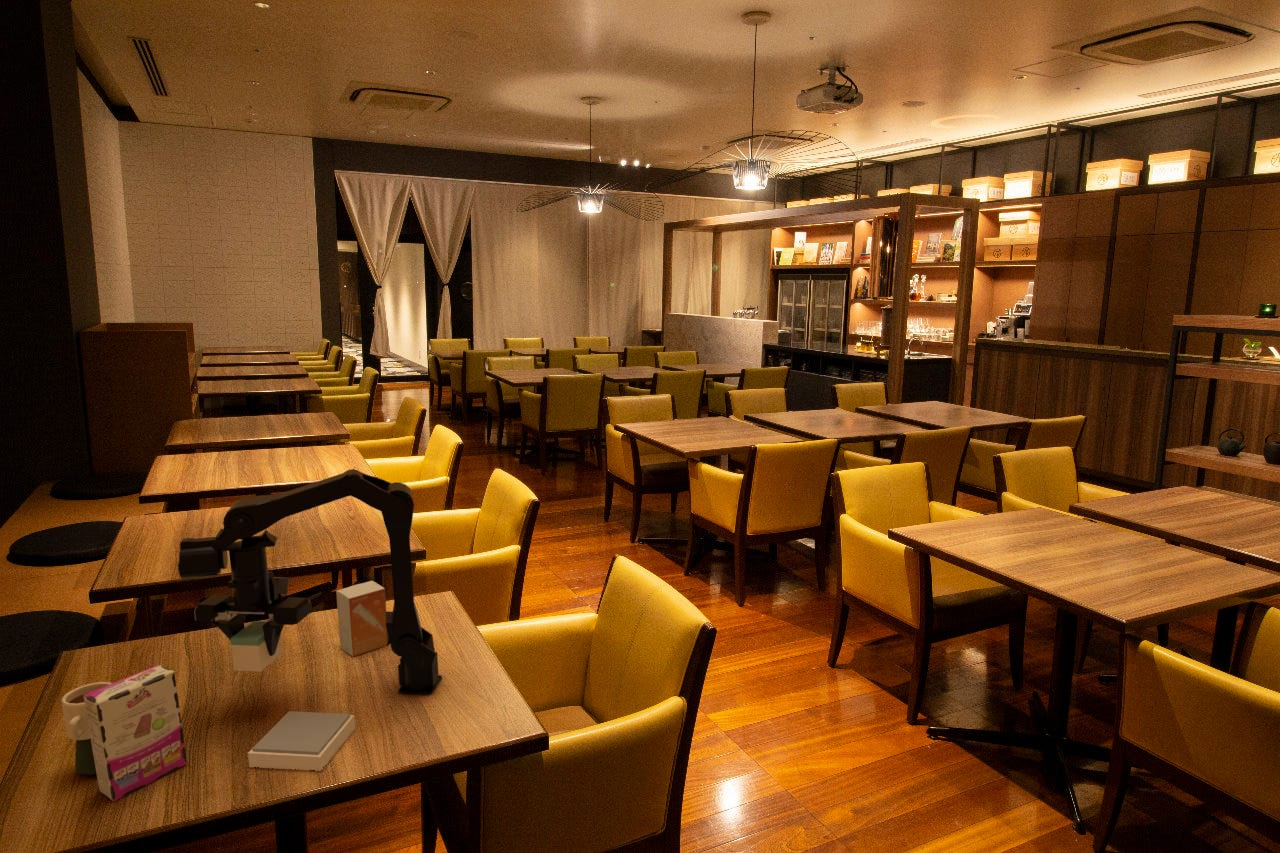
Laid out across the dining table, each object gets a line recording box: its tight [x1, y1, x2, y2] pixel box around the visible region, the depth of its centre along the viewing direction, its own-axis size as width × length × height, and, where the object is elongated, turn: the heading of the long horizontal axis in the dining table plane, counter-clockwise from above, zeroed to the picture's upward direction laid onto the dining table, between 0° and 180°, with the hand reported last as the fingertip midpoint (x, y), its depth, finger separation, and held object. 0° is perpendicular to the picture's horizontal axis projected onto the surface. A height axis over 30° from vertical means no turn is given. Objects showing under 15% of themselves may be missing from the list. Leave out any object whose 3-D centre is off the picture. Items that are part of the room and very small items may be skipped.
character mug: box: [61, 681, 113, 776], centre depth 123 cm, size 11×7×13 cm, turn 8°
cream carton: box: [229, 620, 284, 672], centre depth 138 cm, size 5×7×6 cm
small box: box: [335, 580, 388, 658], centre depth 164 cm, size 8×6×13 cm
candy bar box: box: [83, 664, 188, 802], centre depth 120 cm, size 11×5×16 cm, turn 148°
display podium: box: [247, 710, 356, 772], centre depth 129 cm, size 12×12×3 cm
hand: (258, 654), depth 138 cm, fingers closed on cream carton, 5 cm apart
